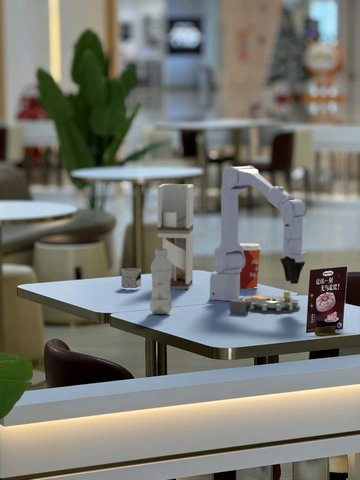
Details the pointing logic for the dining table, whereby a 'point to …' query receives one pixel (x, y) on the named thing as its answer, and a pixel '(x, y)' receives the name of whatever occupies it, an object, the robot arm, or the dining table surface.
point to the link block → (239, 307)
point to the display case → (177, 230)
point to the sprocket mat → (274, 310)
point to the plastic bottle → (161, 282)
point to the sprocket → (273, 302)
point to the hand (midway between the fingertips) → (291, 282)
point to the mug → (131, 278)
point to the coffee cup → (250, 265)
